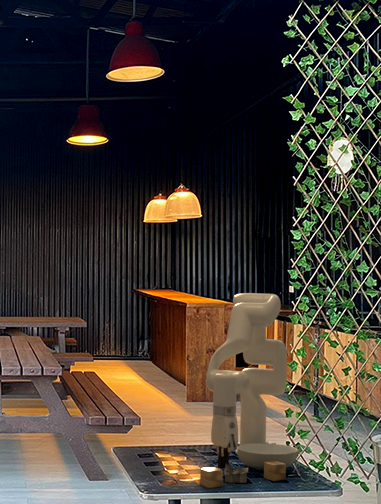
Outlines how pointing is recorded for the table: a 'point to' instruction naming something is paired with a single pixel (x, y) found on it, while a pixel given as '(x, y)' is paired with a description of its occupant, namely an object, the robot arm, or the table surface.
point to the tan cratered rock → (235, 474)
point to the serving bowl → (266, 454)
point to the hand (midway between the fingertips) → (223, 467)
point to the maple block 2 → (275, 470)
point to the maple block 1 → (211, 477)
